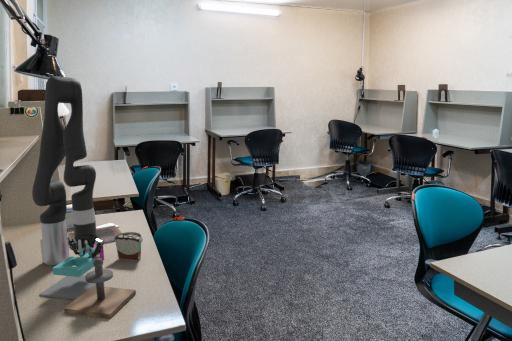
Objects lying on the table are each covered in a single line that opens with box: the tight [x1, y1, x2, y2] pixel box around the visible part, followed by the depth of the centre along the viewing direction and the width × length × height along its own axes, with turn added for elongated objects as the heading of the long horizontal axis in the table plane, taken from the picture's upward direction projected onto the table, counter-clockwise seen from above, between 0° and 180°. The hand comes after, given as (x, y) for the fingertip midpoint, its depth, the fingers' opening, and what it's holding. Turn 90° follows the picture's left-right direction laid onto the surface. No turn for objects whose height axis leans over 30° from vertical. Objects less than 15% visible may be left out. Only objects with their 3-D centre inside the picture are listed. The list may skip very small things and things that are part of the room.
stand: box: [63, 258, 137, 319], centre depth 138 cm, size 16×16×16 cm
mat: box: [38, 274, 96, 301], centre depth 151 cm, size 15×16×1 cm
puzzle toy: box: [86, 244, 105, 261], centre depth 174 cm, size 6×6×6 cm
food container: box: [114, 231, 144, 262], centre depth 176 cm, size 12×6×10 cm, turn 74°
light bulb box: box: [66, 203, 74, 230], centre depth 218 cm, size 11×7×11 cm, turn 130°
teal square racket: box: [52, 253, 96, 277], centre depth 152 cm, size 10×15×2 cm, turn 168°
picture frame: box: [67, 225, 122, 245], centre depth 199 cm, size 16×2×22 cm
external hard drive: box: [96, 222, 120, 229], centre depth 213 cm, size 2×8×12 cm
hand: (88, 265), depth 157 cm, fingers closed on teal square racket, 2 cm apart
